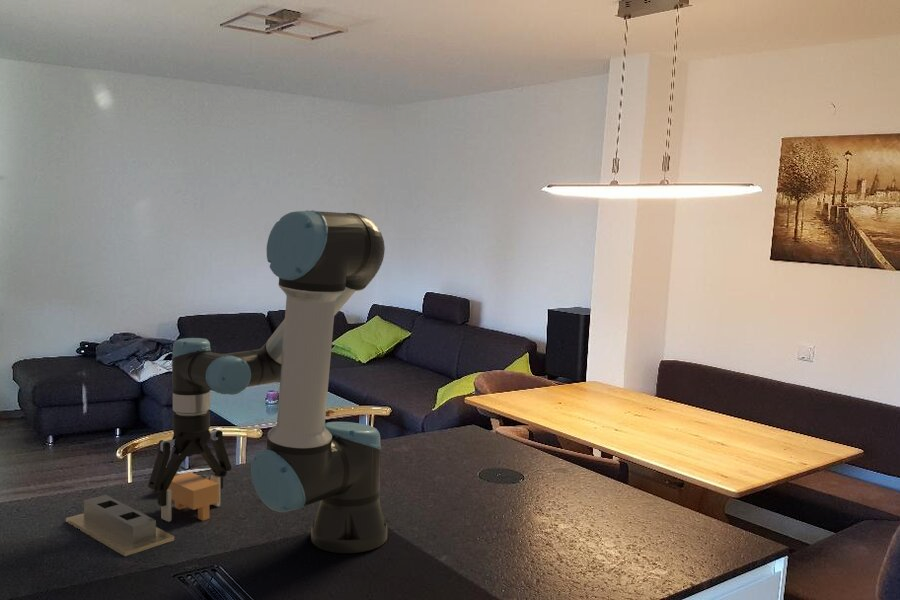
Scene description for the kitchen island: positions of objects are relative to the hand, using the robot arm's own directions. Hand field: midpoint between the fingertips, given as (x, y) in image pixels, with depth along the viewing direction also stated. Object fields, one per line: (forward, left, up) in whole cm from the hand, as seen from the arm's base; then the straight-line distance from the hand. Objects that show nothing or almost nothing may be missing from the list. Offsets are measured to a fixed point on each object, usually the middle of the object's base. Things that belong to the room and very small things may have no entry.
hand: (191, 511), depth 160 cm
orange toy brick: (0, 0, 0) cm, 0 cm away
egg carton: (+13, -6, -1) cm, 14 cm away
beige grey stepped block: (+2, +15, 0) cm, 15 cm away
